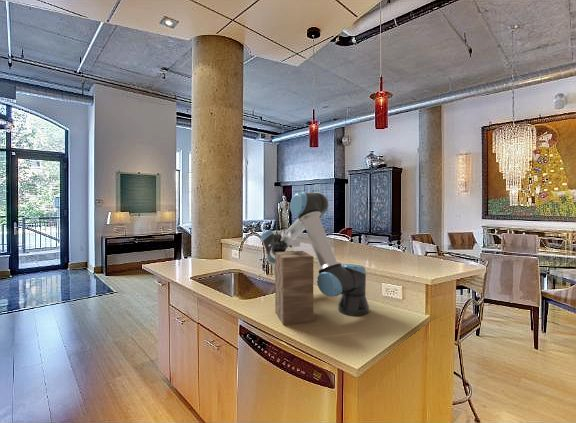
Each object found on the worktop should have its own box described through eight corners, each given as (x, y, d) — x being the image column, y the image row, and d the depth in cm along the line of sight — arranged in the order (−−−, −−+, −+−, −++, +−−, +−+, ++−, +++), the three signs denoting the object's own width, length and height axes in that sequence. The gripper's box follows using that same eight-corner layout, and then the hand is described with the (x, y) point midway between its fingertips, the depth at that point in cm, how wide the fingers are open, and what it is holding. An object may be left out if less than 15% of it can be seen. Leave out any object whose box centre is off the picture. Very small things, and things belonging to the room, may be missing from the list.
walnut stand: (275, 312, 156) (275, 251, 155) (302, 310, 160) (302, 250, 159) (283, 325, 141) (283, 257, 140) (313, 322, 144) (313, 255, 143)
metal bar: (279, 239, 168) (279, 233, 168) (285, 239, 169) (285, 233, 168) (293, 246, 143) (293, 240, 143) (299, 246, 143) (299, 239, 143)
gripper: (292, 255, 180) (303, 239, 159) (264, 257, 175) (272, 240, 155) (290, 243, 183) (301, 226, 163) (263, 244, 179) (270, 226, 159)
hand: (287, 233), depth 159 cm, fingers closed on metal bar, 3 cm apart
